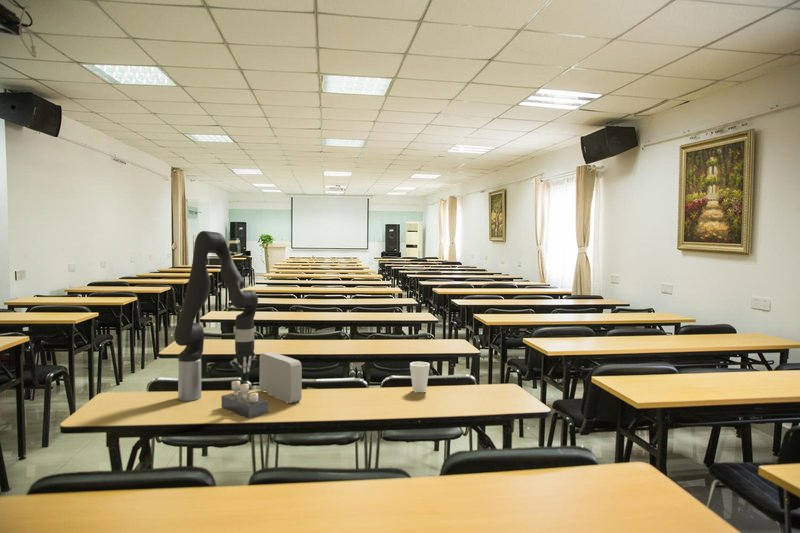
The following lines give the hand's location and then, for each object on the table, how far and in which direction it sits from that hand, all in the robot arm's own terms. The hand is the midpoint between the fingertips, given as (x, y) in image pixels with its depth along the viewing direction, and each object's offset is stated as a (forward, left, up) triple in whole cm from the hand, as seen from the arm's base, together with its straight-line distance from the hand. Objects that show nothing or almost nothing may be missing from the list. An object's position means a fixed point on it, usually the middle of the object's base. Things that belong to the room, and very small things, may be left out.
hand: (244, 381), depth 190 cm
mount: (0, 0, -12) cm, 12 cm away
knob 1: (-7, 0, -9) cm, 11 cm away
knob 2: (0, 0, -9) cm, 9 cm away
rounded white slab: (-5, +21, -12) cm, 25 cm away
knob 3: (+6, 0, -11) cm, 13 cm away
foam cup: (+38, +69, -12) cm, 80 cm away
